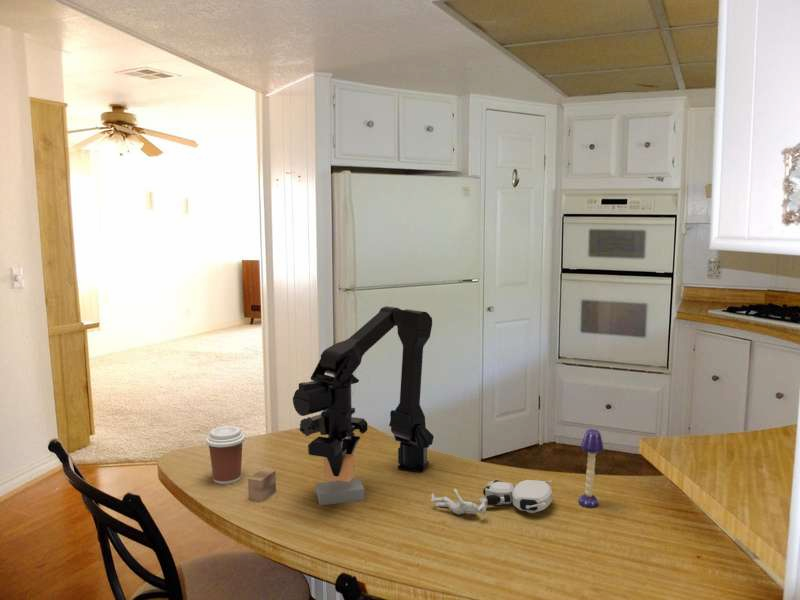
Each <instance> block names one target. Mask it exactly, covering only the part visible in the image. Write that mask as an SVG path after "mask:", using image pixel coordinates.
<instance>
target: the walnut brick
mask: <svg viewBox="0 0 800 600" xmlns="http://www.w3.org/2000/svg"><path fill="white" fill-rule="evenodd" d="M276 475H277V474H276V470H275V469H269V468H261V469H260V470H258V471H257V472H256V473H254V474H252V475H251V476H250V477H248V478H247V488H248V490H247V492H248V500H249V501H255V502H260V503H262V502H264V501H265V500H266V499H267V498H269V497H270V496H271V495H273V494H274V493H275V492H276V491H277V477H276Z"/></svg>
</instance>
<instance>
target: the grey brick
mask: <svg viewBox="0 0 800 600" xmlns="http://www.w3.org/2000/svg"><path fill="white" fill-rule="evenodd" d="M365 491H366V490H365V487H364V485H363V483H362V480H361V479H360V478H359V477H357V478H353V479H352V480H351V481H350V482H344V481H338V480H331V481H322V482H316V483H315V496H316V498H317V500H318V504H319V506H326V505H336V503H337V504H343V503H344V502H345V503H353V502H360V500H362V501H366V499H365V496H366V495H365V494H366V493H365ZM352 501H353V502H352Z"/></svg>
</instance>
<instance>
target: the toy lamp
mask: <svg viewBox="0 0 800 600" xmlns="http://www.w3.org/2000/svg"><path fill="white" fill-rule="evenodd" d="M580 445H581V446H580V447H581V449H582V450H583V451H584V452H587V463H586V473H585V474H586V476H585V481H586V482H585V485H584V487H585V490H584V494H582V495H580V496H579V498H578V504H579V505H580V506H582V507H584V508H588V509H593V508H594V509H595V508H598V506H599V505H600V504H599V501H598V498H597V497H596V496H595V495H594V491H593V490H594V481H595V474H596V473H595V468H596V455H597V454H598V453H602V452H603V451H604V443H603V437H602V434H601V432H600V431H599V430H598V429H593V428H588V429H587V430H586V431H585V433H584V436H583V438H582V442H581V444H580Z"/></svg>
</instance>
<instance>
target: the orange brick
mask: <svg viewBox="0 0 800 600" xmlns="http://www.w3.org/2000/svg"><path fill="white" fill-rule="evenodd" d="M355 477H356V455H355V454H345V457H344V461H343V464H342V467H341V471H340V474H339V476H338V477H337V476H334V475H333V472H332V470H331V467H330V464H329V462H328V459H327V457H323V478H324V479H326V480H331V481H344V482H350V481H351V480H352V479H355Z"/></svg>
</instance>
